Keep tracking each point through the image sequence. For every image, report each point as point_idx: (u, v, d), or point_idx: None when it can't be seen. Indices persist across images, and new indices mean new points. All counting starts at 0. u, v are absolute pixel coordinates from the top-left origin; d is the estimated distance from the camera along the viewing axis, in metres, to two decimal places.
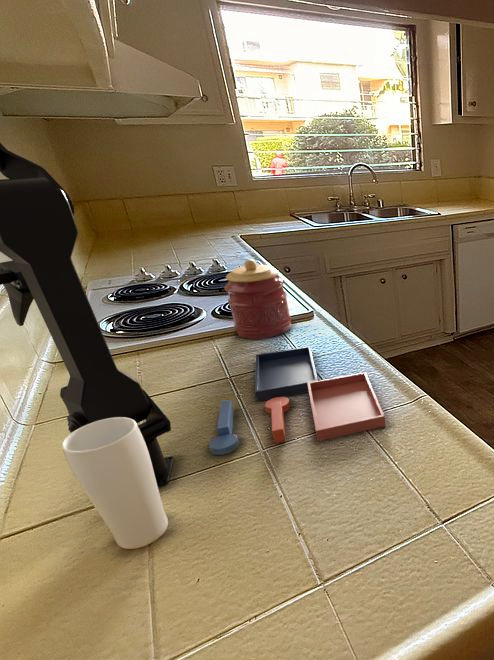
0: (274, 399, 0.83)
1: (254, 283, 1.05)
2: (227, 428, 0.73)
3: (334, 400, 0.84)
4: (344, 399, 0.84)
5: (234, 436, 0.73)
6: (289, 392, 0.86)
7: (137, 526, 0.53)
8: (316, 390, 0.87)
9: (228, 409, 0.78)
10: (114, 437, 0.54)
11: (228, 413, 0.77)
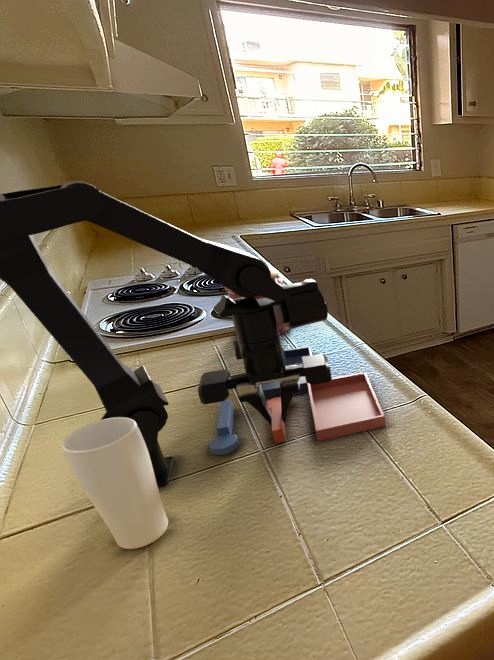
0: (274, 399, 0.83)
1: None
2: (227, 428, 0.73)
3: (334, 400, 0.84)
4: (344, 399, 0.84)
5: (234, 436, 0.73)
6: None
7: (137, 526, 0.53)
8: (316, 390, 0.87)
9: (228, 409, 0.78)
10: (114, 437, 0.54)
11: (228, 413, 0.77)
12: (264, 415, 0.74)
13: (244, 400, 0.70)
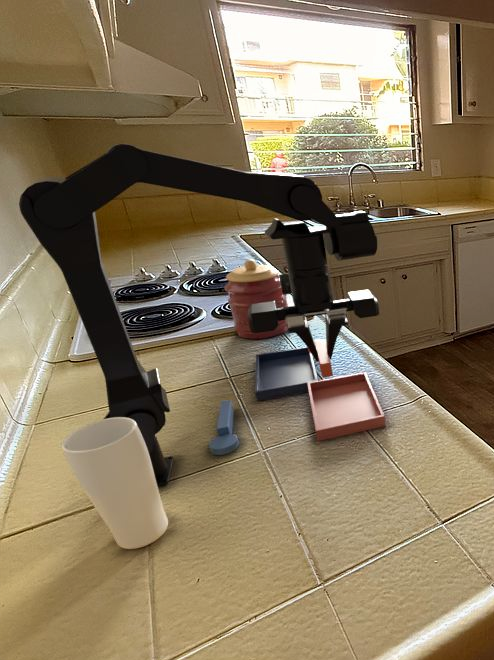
0: (316, 340, 0.82)
1: (254, 283, 1.05)
2: (227, 428, 0.73)
3: (334, 400, 0.84)
4: (344, 399, 0.84)
5: (234, 436, 0.73)
6: (289, 392, 0.86)
7: (137, 526, 0.53)
8: (316, 390, 0.87)
9: (228, 409, 0.78)
10: (114, 437, 0.54)
11: (228, 413, 0.77)
12: (311, 350, 0.72)
13: (293, 331, 0.69)
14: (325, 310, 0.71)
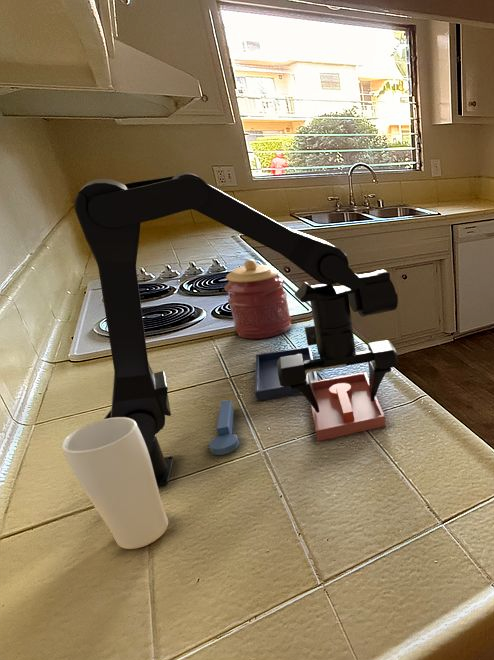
0: (336, 385, 0.87)
1: (254, 283, 1.05)
2: (227, 428, 0.73)
3: (334, 400, 0.84)
4: None
5: (234, 436, 0.73)
6: (289, 392, 0.86)
7: (137, 526, 0.53)
8: (316, 390, 0.87)
9: (228, 409, 0.78)
10: (114, 437, 0.54)
11: (228, 413, 0.77)
12: (312, 402, 0.76)
13: (295, 387, 0.72)
14: (325, 366, 0.74)
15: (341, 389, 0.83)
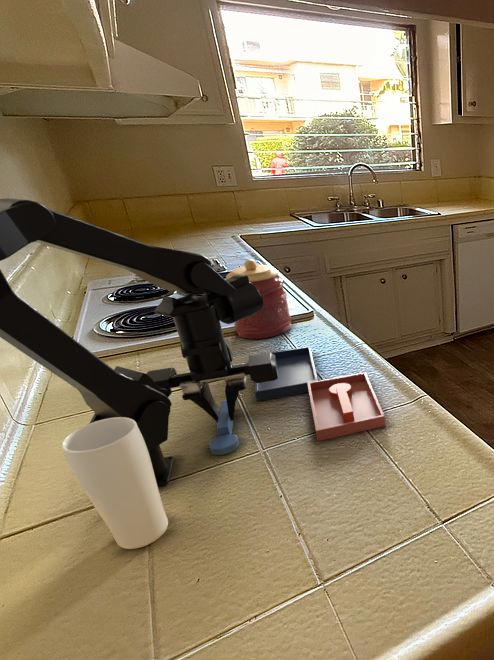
0: (336, 385, 0.87)
1: (254, 283, 1.05)
2: (227, 428, 0.73)
3: (334, 400, 0.84)
4: None
5: (234, 436, 0.73)
6: (289, 392, 0.86)
7: (137, 526, 0.53)
8: (316, 390, 0.87)
9: None
10: (114, 437, 0.54)
11: (228, 413, 0.77)
12: (210, 413, 0.74)
13: (187, 398, 0.70)
14: (221, 376, 0.73)
15: (341, 389, 0.83)
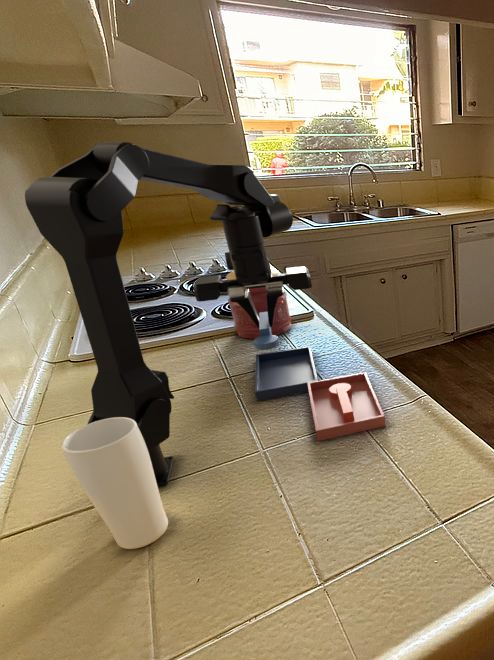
0: (336, 385, 0.87)
1: None
2: (268, 329, 0.83)
3: (334, 400, 0.84)
4: None
5: (274, 336, 0.82)
6: (289, 392, 0.86)
7: (137, 526, 0.53)
8: (316, 390, 0.87)
9: (267, 317, 0.87)
10: (114, 437, 0.54)
11: (267, 320, 0.86)
12: (252, 317, 0.84)
13: (234, 300, 0.80)
14: (263, 283, 0.82)
15: (341, 389, 0.83)
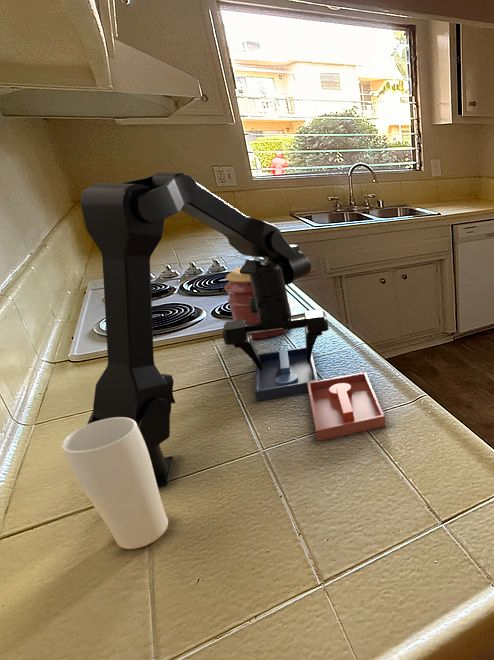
0: (336, 385, 0.87)
1: None
2: (288, 369, 0.91)
3: (334, 400, 0.84)
4: None
5: (294, 375, 0.90)
6: (289, 392, 0.86)
7: (137, 526, 0.53)
8: (316, 390, 0.87)
9: (286, 356, 0.95)
10: (114, 437, 0.54)
11: (287, 358, 0.94)
12: (254, 360, 0.90)
13: (238, 346, 0.87)
14: (265, 329, 0.89)
15: (341, 389, 0.83)
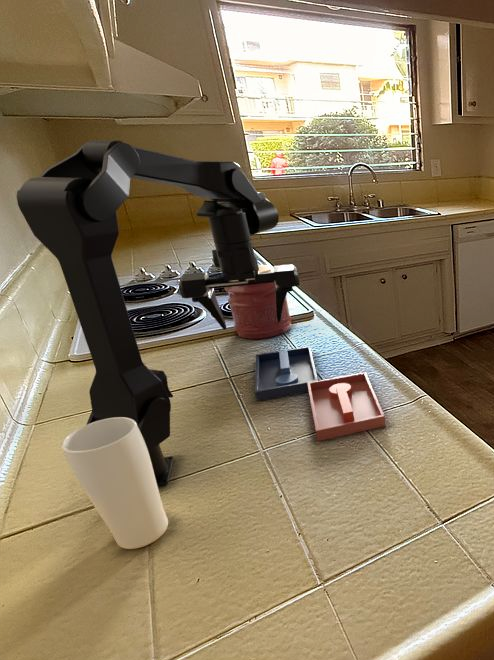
0: (336, 385, 0.87)
1: None
2: (288, 369, 0.91)
3: (334, 400, 0.84)
4: None
5: (294, 375, 0.90)
6: (289, 392, 0.86)
7: (137, 526, 0.53)
8: (316, 390, 0.87)
9: (286, 356, 0.95)
10: (114, 437, 0.54)
11: (287, 358, 0.94)
12: (216, 318, 0.82)
13: (196, 300, 0.78)
14: (227, 283, 0.80)
15: (341, 389, 0.83)
